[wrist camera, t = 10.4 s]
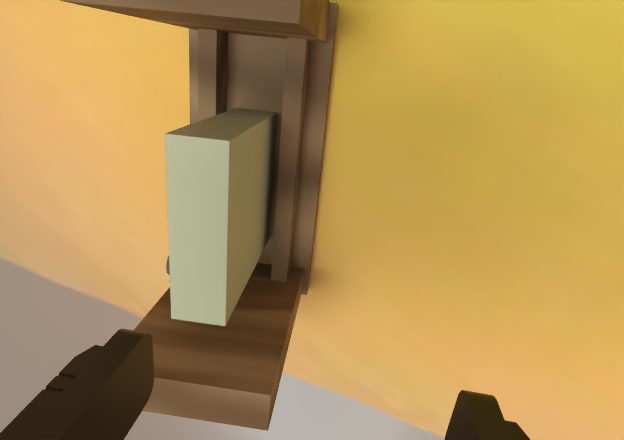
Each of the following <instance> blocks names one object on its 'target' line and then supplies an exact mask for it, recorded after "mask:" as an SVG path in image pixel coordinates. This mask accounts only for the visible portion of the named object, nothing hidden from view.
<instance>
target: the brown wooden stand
mask: <svg viewBox="0 0 624 440" xmlns="http://www.w3.org/2000/svg"><path fill="white" fill-rule="evenodd" d="M60 1H64V2H69V3H74V4H78V5H83V6H88V7H92V8H97V9H102V10H106V11H111V12H116V13H120V14H125V15H130V16H134V17H139V18H144V19H148V20H153V21H157V22H162V23H167V24H171V25H176V26H181V27H185V28H189V66H190V124H193V123H196V122H199V121H201V120H204V119H207V118H210V117H213V116H215V115H218V114H221V113H224V112H226V111H229V110H232V109H235V108H242V109H251V110H260V111H269V112H277V123H276V139H275V155H274V171H273V188H272V204H271V220H270V236H269V240H268V242H267V244H266V246H265V248H264V250H263V252H262V254H261V256H260V258H259V260H258V262H257V264H256V266H255V268H254V270H253V272H252V274H251V276H250V278H249V280H248V282H247V284H246V286H245V288H244V290H243V292H242V294H241V296H240V298H239V300H238V302H237V304H236V306H235V308H234V310H233V312H232V314H231V316H230V318H229V320H228V322H227V324H226V326H220V325H213V324H206V323H199V322H192V321H185V320H178V319H171V296H170V288H169V289H168V290H167V291H166V292H165V294H164V295H163V296H162V297H161V298H160V300H159V301H158V302H157V303H156V304H155V306H154V307H153V308H152V309H151V310H150V311H149V313H148V314H147V315H146V316H145V317H144V319H143V320H142V321H141V322H140V323H139V325H138V326H137V327H136V328H135V329H134V331H138V332H144V333H149V334H151V336H152V340H153V362H154V384H153V389H152V392H151V395H150V398H149V400H148V402H147V404H146V405H145V407H144V409H143V410H142V411H148V412H154V413H161V414H167V415H174V416H180V417H186V418H192V419H198V420H205V421H211V422H217V423H224V424H230V425H236V426H243V427H250V428H255V429H262V430H268V428H269V424H270V420H271V416H272V412H273V408H274V404H275V400H276V395H277V391H278V387H279V383H280V379H281V375H282V371H283V367H284V362H285V358H286V354H287V350H288V346H289V342H290V338H291V334H292V330H293V325H294V321H295V317H296V313H297V309H298V305H299V301H300V297H301V294H305V295H307V293H308V287H309V278H310V268H311V259H312V249H313V240H314V230H315V221H316V212H317V202H318V193H319V183H320V174H321V164H322V155H323V145H324V136H325V127H326V117H327V108H328V98H329V89H330V79H331V70H332V60H333V51H334V41H335V32H336V23H337V13H338V4H335V3H330V2H329V0H60Z"/></svg>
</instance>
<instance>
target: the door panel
mask: <svg viewBox="0 0 624 440" xmlns="http://www.w3.org/2000/svg"><path fill="white" fill-rule="evenodd" d="M276 123H277V112H269V111H260V110H251V109H242V108H235V109H232V110H229V111H226V112H224V113H221V114H218V115H215V116H213V117H210V118H207V119H204V120H201V121H199V122H196V123H193V124H190V125H188V126H185V127H182V128H179V129H177V130H174V131H171V132H168V133H165V148H166V177H167V207H168V237H169V257H168V260H167V266H166V269H167V273H168V274H169V275H170V296H171V319H178V320H185V321H192V322H199V323H206V324H213V325H220V326H226V324H227V322H228V320H229V318H230V316H231V314H232V312H233V310H234V308H235V306H236V304H237V302H238V300H239V298H240V296H241V294H242V292H243V290H244V288H245V286H246V284H247V282H248V280H249V278H250V276H251V274H252V272H253V270H254V268H255V266H256V264H257V262H258V260H259V258H260V256H261V254H262V252H263V250H264V248H265V246H266V244H267V242H268V240H269V236H270V220H271V204H272V188H273V171H274V155H275V139H276Z"/></svg>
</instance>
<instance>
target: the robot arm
mask: <svg viewBox="0 0 624 440" xmlns="http://www.w3.org/2000/svg"><path fill="white" fill-rule="evenodd" d="M153 384H154V362H153V340H152V336H151V334H149V333H144V332H138V331H133V330H127V329H120V330H118V331H117V332H116V333H115V334H114V335H113V336H112V338H111V339H110V340H109V341H108V342H107V343H106V344H105V345H104V346H98V345H95V346H93V347H91V348H90V349H88V350H86V351H84V352H83V353H81V354H79V355H77V356H76V357H74V359H72V361H70V362H69V364H68V365H67V366H65V368H64V369H63V370H62V371H61V372H60V373H59V375H58V376H56V377H55V378H54V379H53V380H52V381H51V382H50V383H49V384H48V385H47V386H46V389H45V390H42V391H41V392H40V393H39V394H38V395H37V396H36V397H35V398H34V399H33V400H32V401H31V402H30V403H29V404H28V405H27V406H26V407H25V408H24V410H22V411H21V412H20V413H19V415H18V416H17V417H16V418H15V419H14V420H13V421H12V422H11V423H10V424H9V425H8V426H7V427H6V428H5V429H4V430H3V431H2V432H1V433H0V440H124V438H125V437H126V435H127V434H128V432H129V430H130V429H131V427H132V426H133V424H134V422H135V421H136V420H137V418H138V416H139V415H140V413H141V412H142V410H143V409H144V407H145V405H146V404H147V402H148V400H149V398H150V395H151V392H152V389H153ZM445 440H530V439H529V437H528V436H527V435H526V434H525V433H524V431H523V430H522V429H521V428H520V427H519V425H518V424H517V423H515V422H510V421H504V418H503V415H502V413H501V410H500V407H499V405H498V402H497V400H496V398H495V397H494V396H492V395H487V394H481V393H476V392H470V391H464V390H462V391H460V393H459V395H458V398H457V401H456V404H455V407H454V410H453V413H452V416H451V419H450V423H449V426H448V429H447V432H446V436H445Z"/></svg>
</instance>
